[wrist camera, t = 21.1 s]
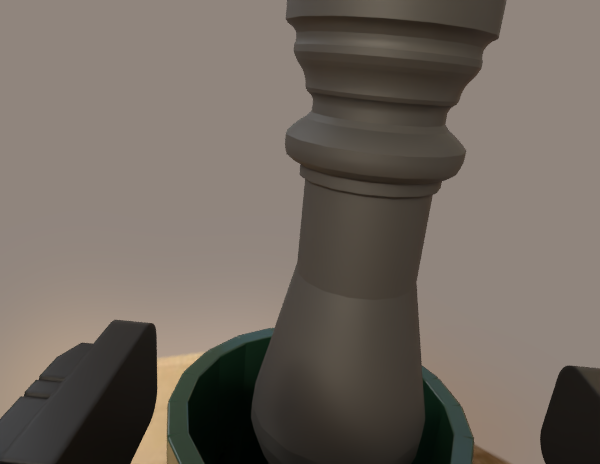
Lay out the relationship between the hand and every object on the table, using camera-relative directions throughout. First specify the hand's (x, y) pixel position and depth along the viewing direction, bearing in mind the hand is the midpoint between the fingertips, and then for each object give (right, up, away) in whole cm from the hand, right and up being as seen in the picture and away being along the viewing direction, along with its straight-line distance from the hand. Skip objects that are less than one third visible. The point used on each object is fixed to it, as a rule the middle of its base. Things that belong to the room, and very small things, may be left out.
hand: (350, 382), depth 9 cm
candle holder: (-1, -12, +11) cm, 16 cm away
